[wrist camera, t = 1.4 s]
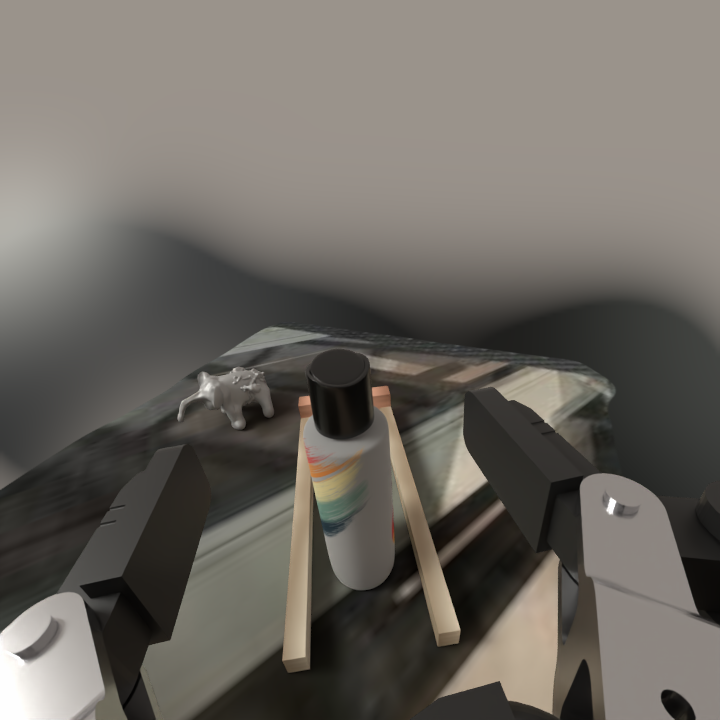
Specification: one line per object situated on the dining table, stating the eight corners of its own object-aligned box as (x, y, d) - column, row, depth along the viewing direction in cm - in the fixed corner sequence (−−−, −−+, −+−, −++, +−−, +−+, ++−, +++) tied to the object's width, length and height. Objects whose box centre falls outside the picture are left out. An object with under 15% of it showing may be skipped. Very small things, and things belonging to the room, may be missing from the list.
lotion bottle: (379, 517, 32) (363, 331, 22) (406, 574, 27) (403, 370, 18) (323, 541, 30) (280, 351, 21) (342, 605, 26) (298, 399, 16)
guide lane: (288, 673, 22) (276, 647, 21) (304, 420, 46) (299, 397, 44) (458, 643, 23) (462, 615, 21) (388, 409, 47) (387, 385, 45)
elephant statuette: (287, 409, 49) (278, 364, 46) (218, 459, 40) (201, 408, 37) (246, 394, 54) (236, 352, 50) (177, 436, 45) (158, 388, 42)
